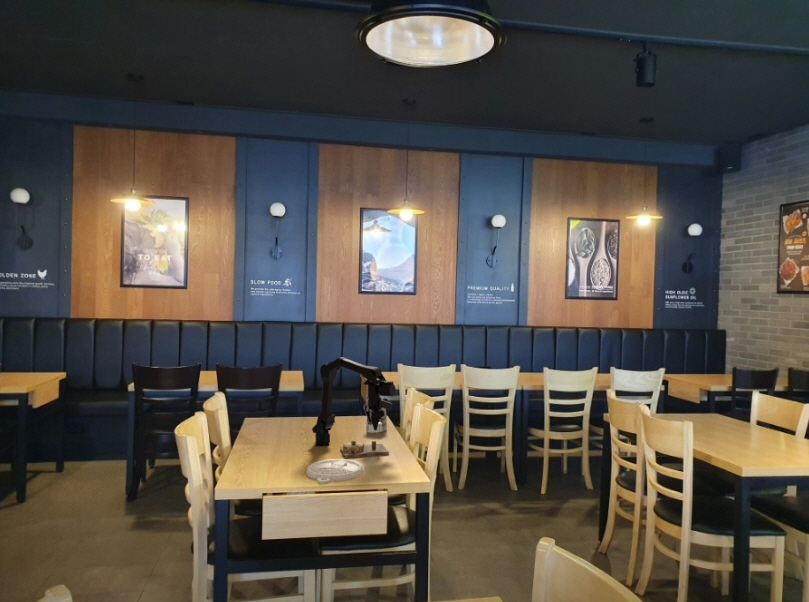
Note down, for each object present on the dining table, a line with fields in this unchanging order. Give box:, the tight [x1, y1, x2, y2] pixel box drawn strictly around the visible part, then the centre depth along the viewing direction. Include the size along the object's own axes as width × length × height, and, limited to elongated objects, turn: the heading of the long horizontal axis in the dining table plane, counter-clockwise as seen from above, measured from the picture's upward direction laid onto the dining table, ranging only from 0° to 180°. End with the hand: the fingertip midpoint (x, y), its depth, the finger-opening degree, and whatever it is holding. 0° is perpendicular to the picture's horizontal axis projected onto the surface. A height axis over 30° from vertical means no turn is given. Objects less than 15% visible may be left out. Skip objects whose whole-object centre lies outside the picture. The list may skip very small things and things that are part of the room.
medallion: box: [305, 458, 364, 485], centre depth 234 cm, size 24×27×2 cm
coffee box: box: [366, 400, 388, 433], centre depth 306 cm, size 9×6×16 cm
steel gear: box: [365, 421, 382, 434], centre depth 265 cm, size 7×7×4 cm
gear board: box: [340, 440, 390, 459], centre depth 264 cm, size 20×14×6 cm
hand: (373, 428), depth 265 cm, fingers closed on steel gear, 7 cm apart
